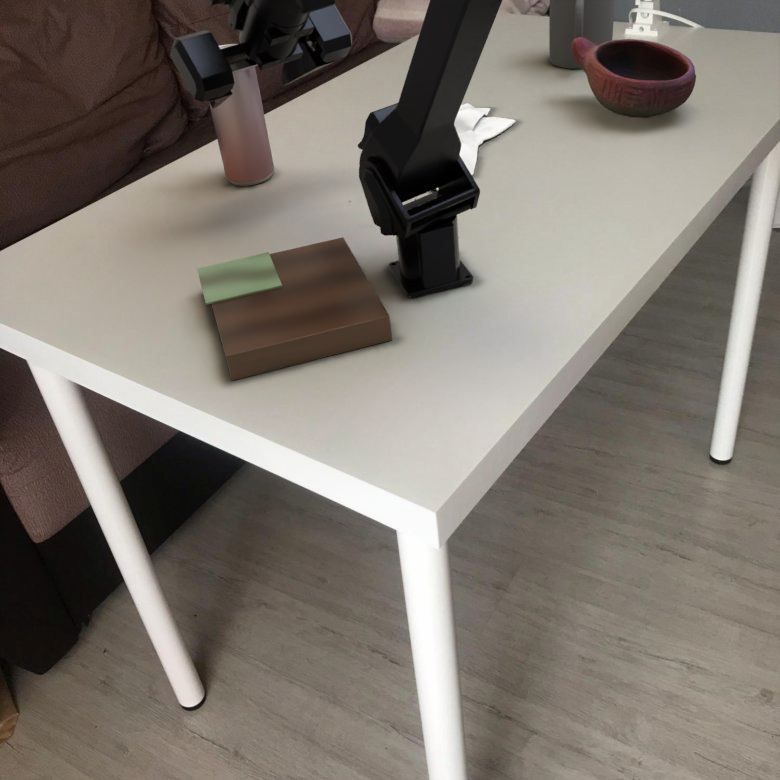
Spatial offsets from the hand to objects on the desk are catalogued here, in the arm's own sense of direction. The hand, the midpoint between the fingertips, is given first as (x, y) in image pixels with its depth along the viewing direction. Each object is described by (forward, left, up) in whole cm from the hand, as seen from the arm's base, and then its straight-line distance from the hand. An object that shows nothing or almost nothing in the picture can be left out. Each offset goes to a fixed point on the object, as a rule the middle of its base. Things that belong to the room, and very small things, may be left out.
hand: (248, 92), depth 97 cm
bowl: (-1, -47, -11) cm, 48 cm away
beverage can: (+4, +1, -11) cm, 12 cm away
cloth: (+1, -23, -11) cm, 25 cm away
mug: (+20, -51, -11) cm, 55 cm away
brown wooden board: (-30, +3, -11) cm, 32 cm away
